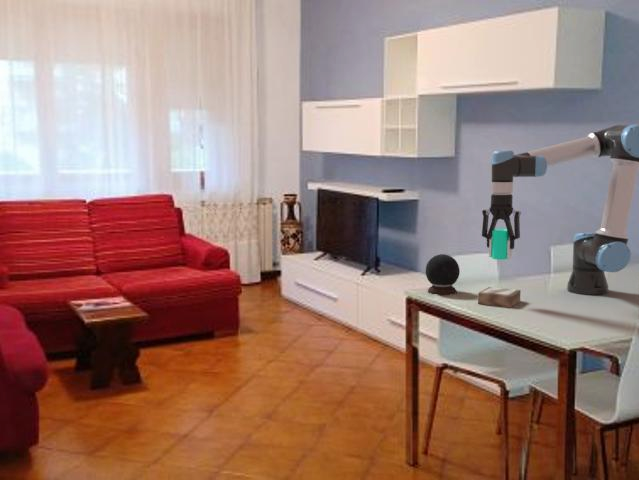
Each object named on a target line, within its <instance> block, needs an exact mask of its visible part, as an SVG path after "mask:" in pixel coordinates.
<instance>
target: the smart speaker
mask: <svg viewBox="0 0 639 480" xmlns="http://www.w3.org/2000/svg"><path fill="white" fill-rule="evenodd" d="M425 275H426V279H427V280H428V282H429V283H430V284H431V286H429V288H428V289H427V293H428V294H430V293H431V294H430V295H434V294H439V295H438V296H451V295H450V294H453V295H456V294H457V293H458V292H457V291H458V290H457V288H456V287H454V286H453V285H455V283H457V281H458V279H459V276H460V266H459V263H458V262H457V260H456V259H455V258H454V257H453V256H451V255H449V254H446V253H445V254H444V253H443V254H437V255H434V256H433V257H432V258H430V259H429V260H428V262H427V264H426V266H425ZM455 293H456V294H455Z"/></svg>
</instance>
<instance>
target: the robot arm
mask: <svg viewBox="0 0 639 480" xmlns="http://www.w3.org/2000/svg"><path fill="white" fill-rule="evenodd" d="M491 155H492V156H491V163H490V164H491V184H490V185H491V187H490V189H491V191H490V192H491V193H492V194H491V195H490V207H489V208H488V209H483V210H482V211H481V212H482V216H483V217H482V227H481V228H482V231H481V237H483V238H485V239H486V248H489V249H488V250H489V251H488V257H489V258H492V230H496V226H497V223H498V220H502V221H504V223H505V227H506V228H505V229H507V231H508V235H509V240H508V243H507V258H508V259H511V258H512V252H513V251H512V250H514V249H515V242H516V241H515V240H518V239H520V238H521V228H520V226H521V225H520V216H521V213H522V211H520V210H516V209H514V207H513V190H514V178H537V177H538V178H539V177H544V176H545V174H547V170H548V168H550V167H554V166H558V165H561V164H566V163H570V162H574V161H577V160H582V159H586V158H593V159H597V158H603V157H610V158H609V160H610V161H611V163H612V164H613V165H612V170H611V176H610V180H609V186H608V190H607V195H606V199H605V203H604V209H603V213H602V219H601V224H600V228H599V229H597V230H596V231H594V232H583V233H582V232H581V233H580V232H578V233H575V234H574V237H573V242H572V243H573V247H572V249H573V252H572V253H573V254H572V271H571V274H570V277H569V279H568V281H567V284H566V285H567V286H566V290H567V291H568V292H571V293H573V294H574V293H575V294H578V295H579V294H581V295H591V296H592V295H595V296H596V295H597V296H598V295H605V294H608V293H609V284H608V281H607V277H606V273H605V272H608V273H616V272H617V273H618V272H620V271H622V270H624V268H626V267H627V266H628V264H629V262H630V261H631V255H632V252H631V250H630V248H629V246H628V243H629V242H628V241H629V237H628V235H627V233H626V229H627V224H628V219H629V214H630V210H631V207H632V201H633V196H634V192H635V191H634V190H635V185H636V182H637V176H638V173H639V124H636V123H635V124H634V123H632V124H623V125H622V124H617V125H613V126H609V127H606V128H603V129H601V130H598V131H594V132H589V133H588V134H587V135H586V136H585V137H581V138H578V139H577V138H576V139H574V140H569V141H566V142H561V143H557V144H553V145H550V146H545V147H542V148H538V149H534V150H530V151H526V152H522V153H518V154H515V153H514V151H513V150H495V151H493V152H492V154H491ZM490 213H491V215H492V218H491V222H490V226H489V215H490ZM511 215H513V225H512V222H511ZM513 226H514V230H513Z"/></svg>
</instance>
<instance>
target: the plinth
mask: <svg viewBox="0 0 639 480" xmlns="http://www.w3.org/2000/svg"><path fill="white" fill-rule="evenodd" d="M477 294H478V295H477V304H478V305H484V306H494V307H502V308H503V307H504V308H510V309H511V308H512V307H514V306H516V304H518V303H519V302H521V290H519V289H512V288H511V289H510V288H502V287H500V288H499V287H487V288H484V289H482V290H481V291H480V292H478V293H477Z"/></svg>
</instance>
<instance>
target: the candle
mask: <svg viewBox="0 0 639 480" xmlns="http://www.w3.org/2000/svg"><path fill="white" fill-rule="evenodd" d="M491 239H492V257H491V259H492V260H498V261H499V260H502V261H503V260H509V258H507V243H508V240H509V239H510V238H509V235H508V231H507V228H497V229H494V230H492V238H491Z"/></svg>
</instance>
